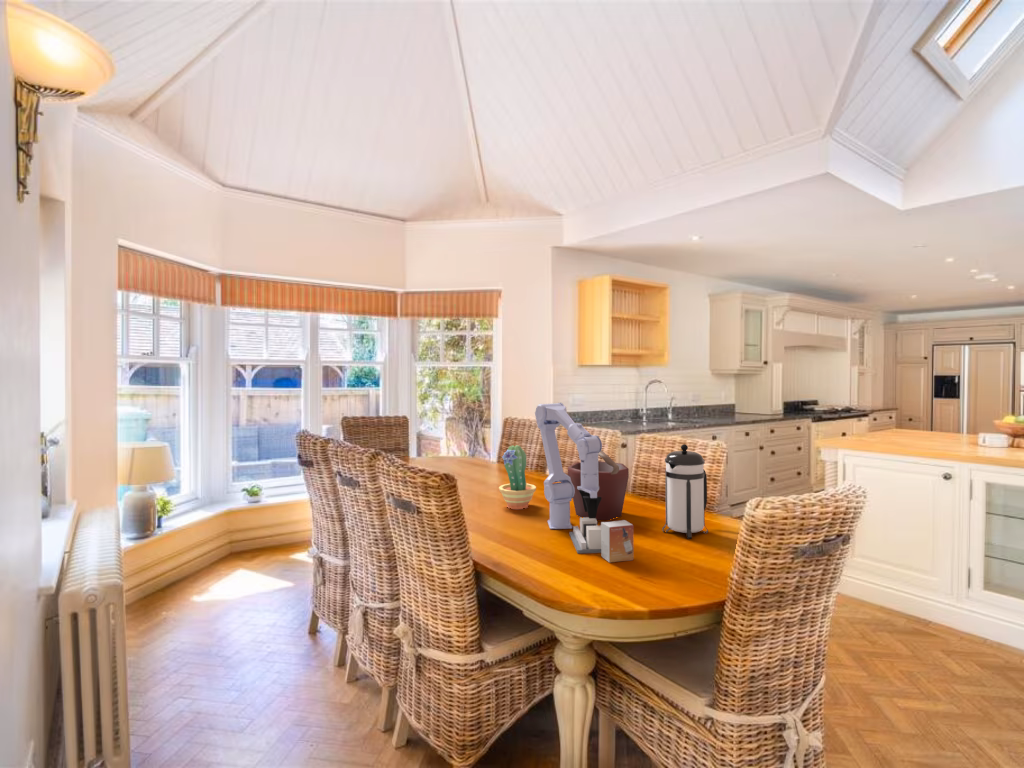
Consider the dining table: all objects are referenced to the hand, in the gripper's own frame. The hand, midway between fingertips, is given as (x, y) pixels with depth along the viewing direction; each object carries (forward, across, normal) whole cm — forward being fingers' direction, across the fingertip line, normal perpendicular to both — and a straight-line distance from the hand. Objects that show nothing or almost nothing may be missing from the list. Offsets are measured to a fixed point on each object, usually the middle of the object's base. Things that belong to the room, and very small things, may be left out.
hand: (590, 514), depth 171 cm
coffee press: (+9, -6, +34) cm, 36 cm away
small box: (+9, +17, +5) cm, 19 cm away
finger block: (+8, 0, 0) cm, 8 cm away
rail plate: (+8, +3, 0) cm, 9 cm away
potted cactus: (+9, -44, -22) cm, 50 cm away
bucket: (+9, -29, +8) cm, 32 cm away
